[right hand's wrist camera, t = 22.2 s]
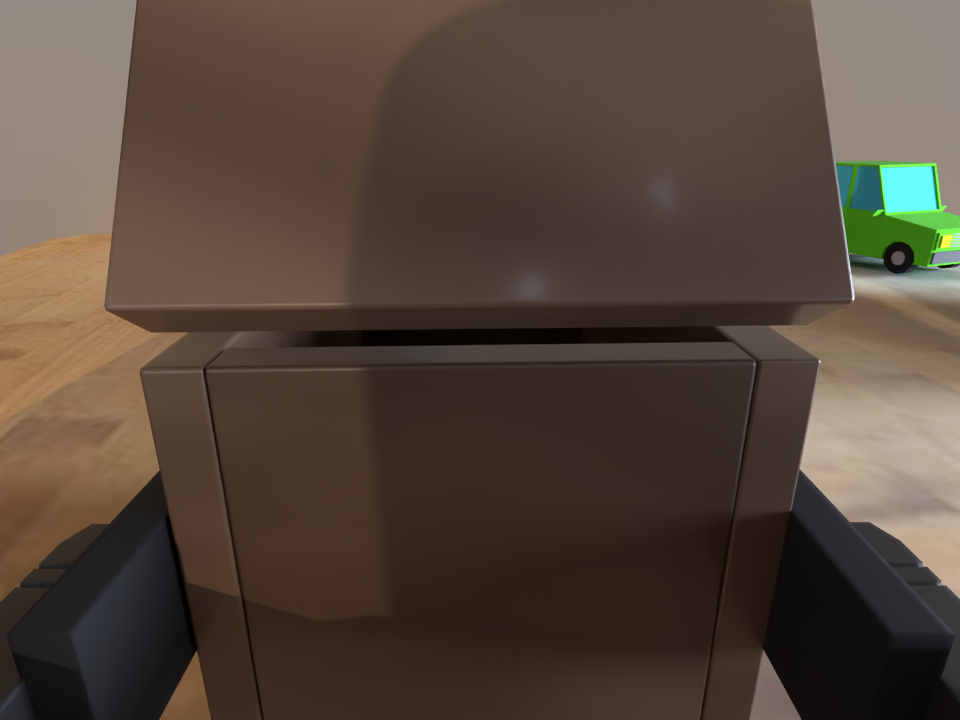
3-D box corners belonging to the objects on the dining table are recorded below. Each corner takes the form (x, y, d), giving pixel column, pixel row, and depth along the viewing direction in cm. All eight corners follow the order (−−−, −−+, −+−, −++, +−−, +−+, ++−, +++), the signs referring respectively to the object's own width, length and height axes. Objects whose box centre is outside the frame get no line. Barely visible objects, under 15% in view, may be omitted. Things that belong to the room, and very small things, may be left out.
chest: (355, 484, 25) (333, 223, 22) (589, 480, 25) (606, 221, 22) (240, 868, 12) (135, 368, 9) (724, 853, 12) (822, 360, 9)
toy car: (919, 281, 58) (946, 169, 55) (802, 256, 70) (819, 162, 66) (990, 273, 62) (1020, 167, 58) (868, 250, 73) (887, 160, 70)
